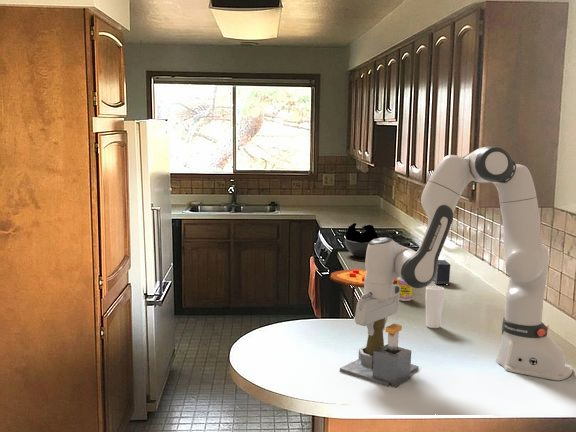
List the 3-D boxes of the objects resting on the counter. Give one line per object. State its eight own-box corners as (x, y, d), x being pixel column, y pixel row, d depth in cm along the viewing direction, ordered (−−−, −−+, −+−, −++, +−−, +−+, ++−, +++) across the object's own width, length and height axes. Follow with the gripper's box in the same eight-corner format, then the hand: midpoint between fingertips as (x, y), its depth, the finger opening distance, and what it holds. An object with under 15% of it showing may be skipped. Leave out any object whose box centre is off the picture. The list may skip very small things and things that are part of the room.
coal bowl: (384, 260, 354) (385, 227, 351) (350, 260, 350) (351, 227, 347) (372, 252, 373) (373, 221, 371) (339, 253, 369) (340, 222, 366)
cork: (371, 347, 202) (373, 314, 201) (388, 351, 198) (389, 318, 197) (361, 352, 198) (363, 318, 196) (378, 356, 194) (379, 322, 192)
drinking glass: (427, 322, 241) (429, 284, 239) (444, 325, 238) (446, 287, 236) (421, 327, 235) (423, 288, 233) (438, 330, 232) (441, 291, 230)
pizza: (394, 273, 323) (394, 268, 323) (398, 289, 292) (398, 283, 291) (332, 270, 327) (332, 265, 326) (329, 285, 295) (329, 279, 295)
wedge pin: (400, 356, 185) (402, 325, 184) (392, 360, 182) (394, 329, 180) (392, 353, 187) (393, 323, 186) (383, 358, 184) (385, 327, 182)
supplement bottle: (395, 300, 271) (397, 271, 269) (396, 296, 277) (398, 268, 276) (411, 302, 269) (412, 272, 268) (412, 298, 276) (413, 269, 274)
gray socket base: (424, 371, 193) (425, 342, 192) (394, 388, 179) (395, 358, 178) (370, 355, 205) (371, 328, 204) (338, 370, 191) (339, 342, 190)
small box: (450, 285, 299) (451, 264, 298) (436, 285, 299) (437, 264, 298) (444, 280, 310) (445, 259, 308) (431, 280, 310) (432, 259, 308)
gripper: (368, 298, 185) (366, 343, 187) (403, 285, 201) (401, 327, 203) (350, 294, 189) (348, 338, 191) (386, 282, 205) (384, 323, 207)
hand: (376, 332), depth 197 cm, fingers closed on cork, 4 cm apart
